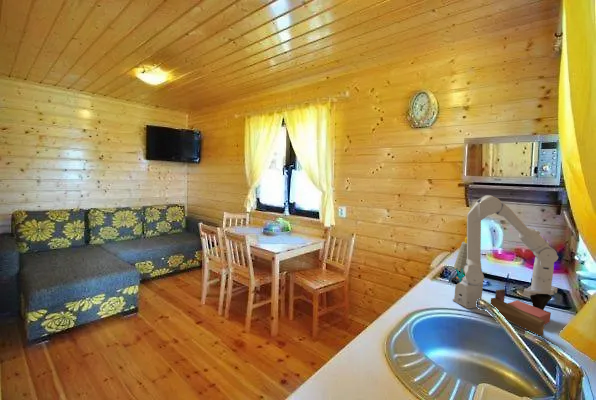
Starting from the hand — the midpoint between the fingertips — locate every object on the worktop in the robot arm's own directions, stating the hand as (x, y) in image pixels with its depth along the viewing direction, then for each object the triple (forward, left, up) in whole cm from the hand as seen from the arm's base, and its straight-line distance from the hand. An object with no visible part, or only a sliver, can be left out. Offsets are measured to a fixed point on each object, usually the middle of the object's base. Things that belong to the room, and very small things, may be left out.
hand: (537, 312), depth 113 cm
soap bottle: (+16, +47, -2) cm, 50 cm away
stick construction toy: (-1, +35, -2) cm, 35 cm away
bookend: (-10, +7, -1) cm, 13 cm away
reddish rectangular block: (-6, 0, -2) cm, 6 cm away
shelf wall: (-13, -2, -1) cm, 14 cm away
